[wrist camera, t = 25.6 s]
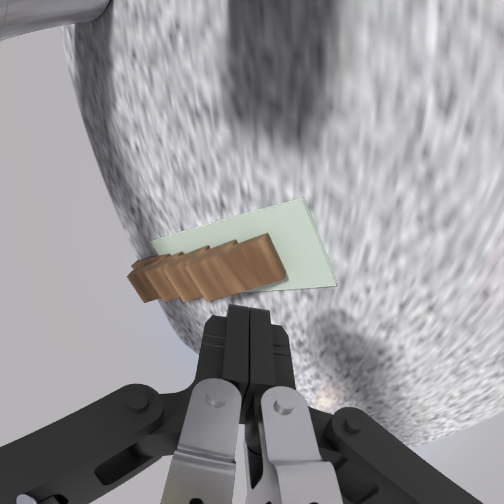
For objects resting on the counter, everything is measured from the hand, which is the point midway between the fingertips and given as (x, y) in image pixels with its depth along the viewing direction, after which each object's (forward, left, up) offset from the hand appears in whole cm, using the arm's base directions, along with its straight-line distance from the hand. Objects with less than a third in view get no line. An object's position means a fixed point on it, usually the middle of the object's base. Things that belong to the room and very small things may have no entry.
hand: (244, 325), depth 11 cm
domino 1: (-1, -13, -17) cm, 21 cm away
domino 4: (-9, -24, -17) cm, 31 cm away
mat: (-5, -19, -18) cm, 27 cm away
